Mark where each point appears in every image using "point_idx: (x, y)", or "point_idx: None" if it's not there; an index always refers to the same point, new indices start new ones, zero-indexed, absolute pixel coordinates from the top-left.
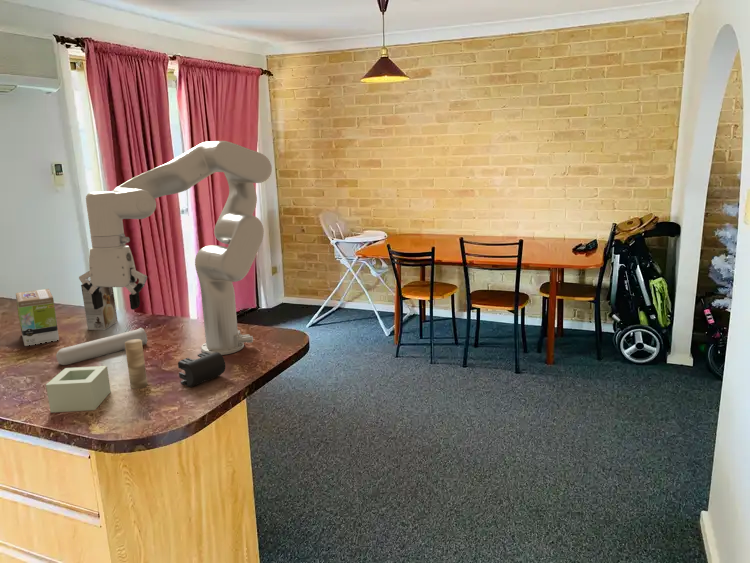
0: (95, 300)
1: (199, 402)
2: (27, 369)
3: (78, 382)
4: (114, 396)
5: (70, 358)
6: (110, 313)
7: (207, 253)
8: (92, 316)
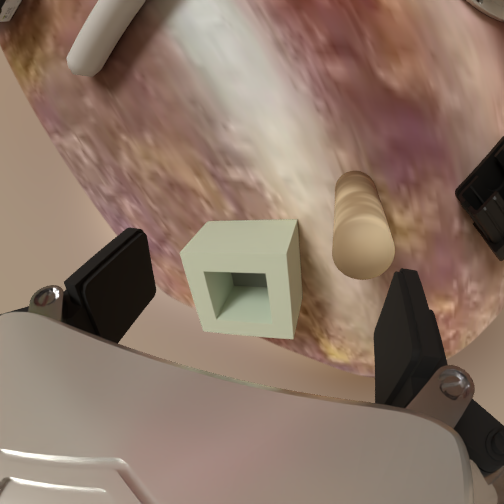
0: (126, 327)
1: (487, 290)
2: (57, 103)
3: (265, 335)
4: (317, 243)
5: (101, 61)
6: None
7: None
8: None
